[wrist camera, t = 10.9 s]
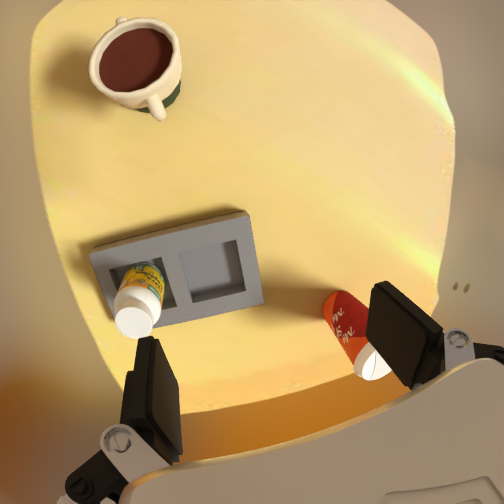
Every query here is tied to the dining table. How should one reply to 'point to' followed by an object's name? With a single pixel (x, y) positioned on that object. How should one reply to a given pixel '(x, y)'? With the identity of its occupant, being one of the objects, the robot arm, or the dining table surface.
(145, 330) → the supplement bottle
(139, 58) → the character mug
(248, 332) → the dining table surface
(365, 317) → the paper cup
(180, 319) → the drink carrier
